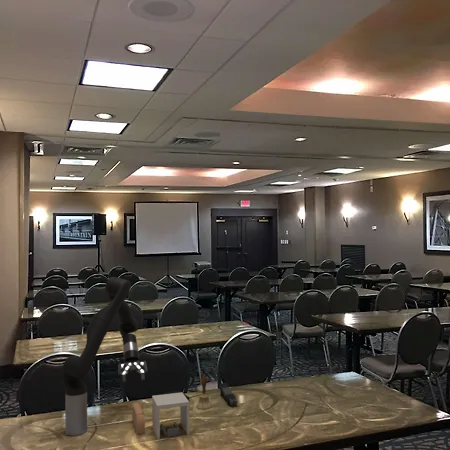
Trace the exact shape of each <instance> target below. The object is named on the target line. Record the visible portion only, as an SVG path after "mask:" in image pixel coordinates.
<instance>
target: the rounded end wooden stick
mask: <svg viewBox="0 0 450 450" xmlns="http://www.w3.org/2000/svg"><path fill="white" fill-rule="evenodd" d="M131 406H132V407H131V408H132V409H131V411H132V412H131V413H132V415H131V416H132V417H131V418H132V419H131V420H132V424H133V427H134V430H135V432H136V435H140V436H141V435H144V434H146V426H145V424H146V419H145V418H146V414H145V412H144V409H143V407H142V404H141V402H134V403H131Z"/></svg>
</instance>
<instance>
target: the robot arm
mask: <svg viewBox="0 0 450 450" xmlns="http://www.w3.org/2000/svg"><path fill="white" fill-rule="evenodd" d="M131 285H132V284H131V282H130V281H129V280H127V279H124V278H121V277H116V276H110V277H109V278H108V279H107V281H106V282H105V287H104V288H105V293H106V295H107V296H108V298H109V300H110V303H108V304H107V305H106V306H104V307H102V308H101V309H100V310H98V311H97V312H95V314H94V315H93V316H92V318H91V320H90V321H89V324H88V326H87V329H86V344H85V347H84V349H83V350H82V353H81V355H80V356H78V355H69V356H67V357H66V358H65V360H64V361H63V364H62V383H63V385H62V386H63V388H64V393H65V413H64V416H65V418H64V419H65V426H64V427H65V436H73V437H74V436H81V435H83V434H85V433H87V432H88V387H87V385H86V383H85V382H84V381H83V380H82V379H84V378H85V377H87V376H88V374H89V373H90V371H91V369H92V367H93V363H94V362H95V359H96V357H97V354H98V351H99V350H100V347H101V345H102V343H103V342H104V339H105V337H106V335H107V334H108V332H109V329H110V327H111V326H112V323H113V321H114V319H115V317H116V315H117V317H118V320H119V323H118V325H117V329H118V332H119V333H120V335H121V339H122V347H123V350H122V352H123V353H122V354H123V360H124V361H123V362H124V363H118V366H117V367H118V368H117V370H118V371H117V372H118V373H117V374H118V375H117V376H118V377H121V378H122V379H121V380H122V383H124V385H125V384H126V383H127V380H126V379H127V378H126V375H127V374H128V373H132V372H137V373H139V374H140V379H141V382H142V383H143V382H144V381H145V374H148V366H147V361H146V360H144V361H140V354H139V347H138V342H137V336H136V334H134V333H135V332H137V331H138V330H139V323H138V320H137V319H136V318H135V317H134V316H133V313H132V309H131V306H130V305H129V304H128V303H127V301H126V299H127V298H128V297H127V296H129V293H130V291H131ZM142 367H143V369H142ZM123 368H124V370H123V372H122V369H123Z"/></svg>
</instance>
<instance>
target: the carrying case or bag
mask: <svg viewBox="0 0 450 450" xmlns="http://www.w3.org/2000/svg"><path fill="white" fill-rule="evenodd" d="M181 392H182V393H183V394H184V395H185V397H186V398H187V400H188V401H190V396H188V395H186V394H185V392H183V391H181V390H172V391H169V392H168V391H167V392H165V393H164V394H172V393H181Z"/></svg>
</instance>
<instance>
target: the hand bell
mask: <svg viewBox="0 0 450 450" xmlns="http://www.w3.org/2000/svg"><path fill="white" fill-rule="evenodd" d="M206 376H207V375H206V374H202V376H201V386H202V393H201V395H199V399H198V403H197V404H196V405H195V408H197V409H199V410H207V409H211V408H213V404H212V403H211V402H210V397H209V395H208V394H207V393H206V391H207V390H206V388H207V387H206V386H207V382H208V381H207V377H206Z"/></svg>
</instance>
